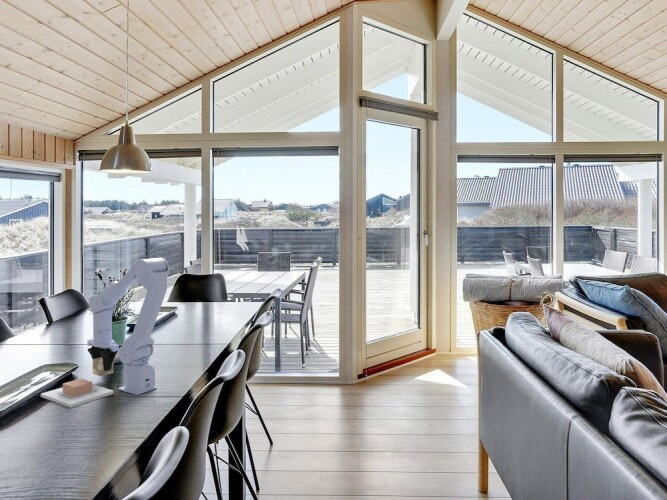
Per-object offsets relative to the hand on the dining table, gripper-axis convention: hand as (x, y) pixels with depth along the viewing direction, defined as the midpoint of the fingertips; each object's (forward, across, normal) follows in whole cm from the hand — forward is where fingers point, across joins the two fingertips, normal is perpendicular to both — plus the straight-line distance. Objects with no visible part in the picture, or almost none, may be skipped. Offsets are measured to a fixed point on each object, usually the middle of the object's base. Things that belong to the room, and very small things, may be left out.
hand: (103, 369), depth 165 cm
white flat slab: (+4, -5, +12) cm, 14 cm away
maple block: (+2, 0, 0) cm, 2 cm away
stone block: (+5, +19, -20) cm, 28 cm away
